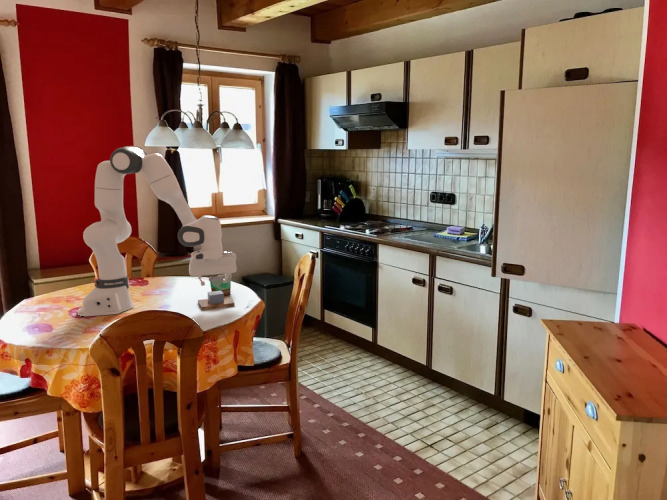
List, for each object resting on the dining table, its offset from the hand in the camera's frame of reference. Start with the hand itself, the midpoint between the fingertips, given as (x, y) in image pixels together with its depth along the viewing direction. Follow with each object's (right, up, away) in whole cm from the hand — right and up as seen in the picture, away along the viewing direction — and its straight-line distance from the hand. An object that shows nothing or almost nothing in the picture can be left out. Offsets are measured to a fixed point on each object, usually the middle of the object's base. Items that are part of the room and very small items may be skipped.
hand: (213, 284), depth 234 cm
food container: (+1, -7, +17) cm, 18 cm away
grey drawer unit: (+1, -8, +1) cm, 8 cm away
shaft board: (+1, -9, +2) cm, 9 cm away
